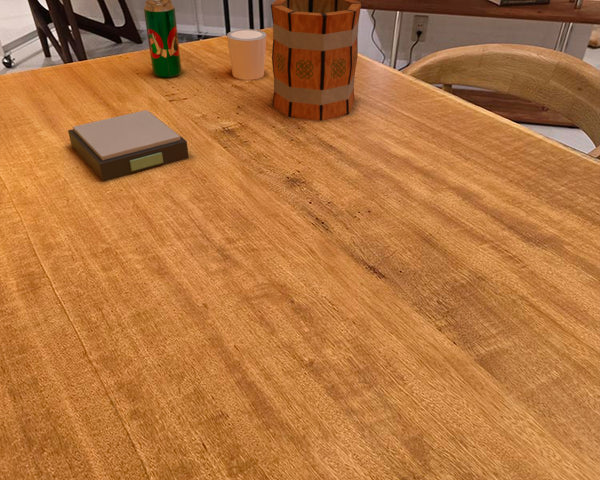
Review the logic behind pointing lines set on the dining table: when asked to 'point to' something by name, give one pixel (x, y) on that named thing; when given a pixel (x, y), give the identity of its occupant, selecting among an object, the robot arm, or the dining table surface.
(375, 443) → the dining table surface
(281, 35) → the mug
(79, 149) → the scale
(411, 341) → the dining table surface
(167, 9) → the soda can
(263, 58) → the white cup
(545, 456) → the dining table surface
